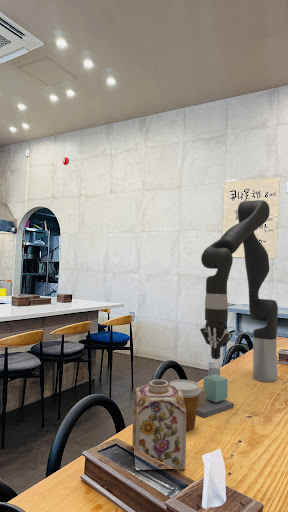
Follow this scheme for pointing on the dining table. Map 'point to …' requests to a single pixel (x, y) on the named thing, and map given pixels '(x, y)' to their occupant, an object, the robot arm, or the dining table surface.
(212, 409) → the post stand
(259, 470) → the dining table surface
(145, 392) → the decorative jar
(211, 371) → the medicine box
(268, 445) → the dining table surface
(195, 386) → the disposable coffee cup
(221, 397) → the sage green cube
